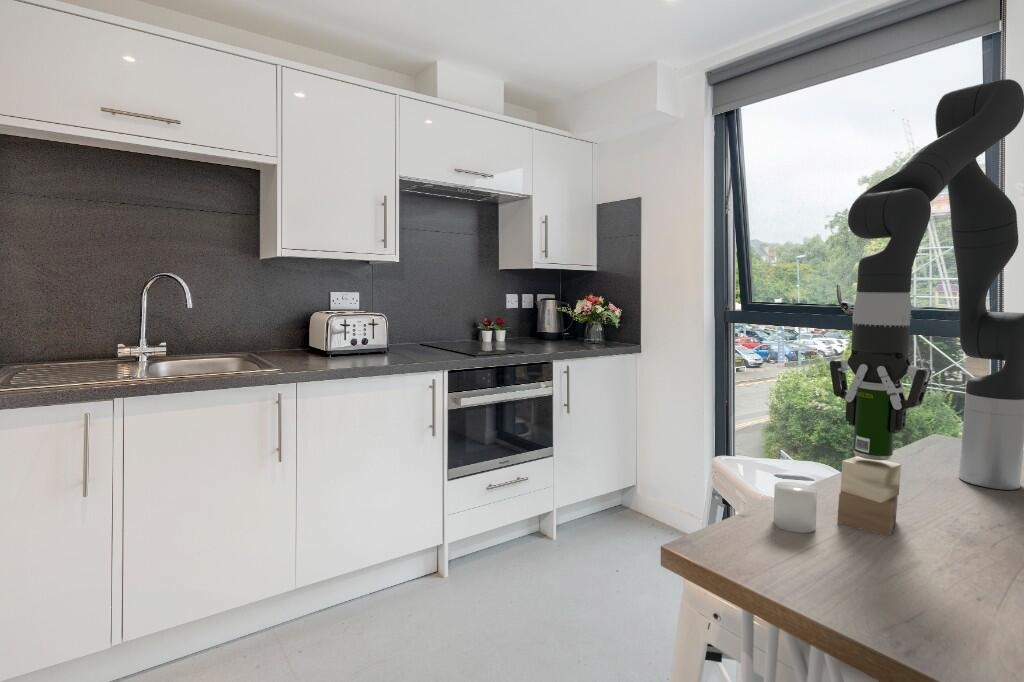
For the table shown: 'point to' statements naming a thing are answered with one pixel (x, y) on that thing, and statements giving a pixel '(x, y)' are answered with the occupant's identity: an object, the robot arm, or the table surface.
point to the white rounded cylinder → (795, 507)
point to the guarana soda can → (873, 422)
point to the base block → (867, 513)
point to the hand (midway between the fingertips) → (873, 428)
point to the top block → (870, 478)
